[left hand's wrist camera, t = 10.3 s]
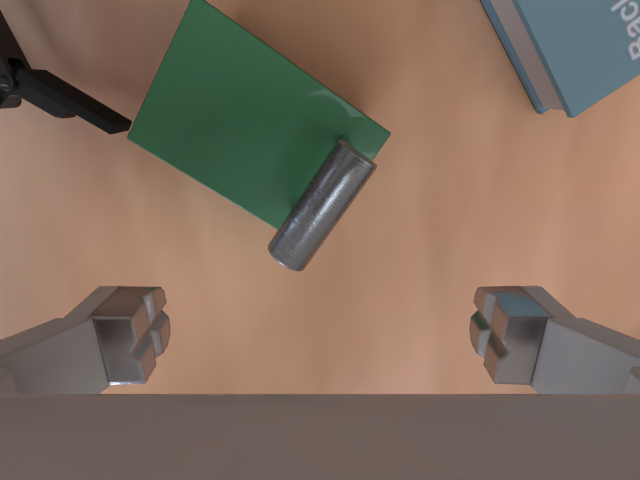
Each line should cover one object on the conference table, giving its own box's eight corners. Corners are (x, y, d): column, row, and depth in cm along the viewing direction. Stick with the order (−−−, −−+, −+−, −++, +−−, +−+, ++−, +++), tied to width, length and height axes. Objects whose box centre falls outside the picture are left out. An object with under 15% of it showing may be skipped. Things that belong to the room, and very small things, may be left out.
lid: (389, 131, 25) (424, 154, 17) (310, 244, 28) (305, 312, 20) (198, -5, 22) (125, -60, 14) (132, 137, 25) (38, 161, 17)
